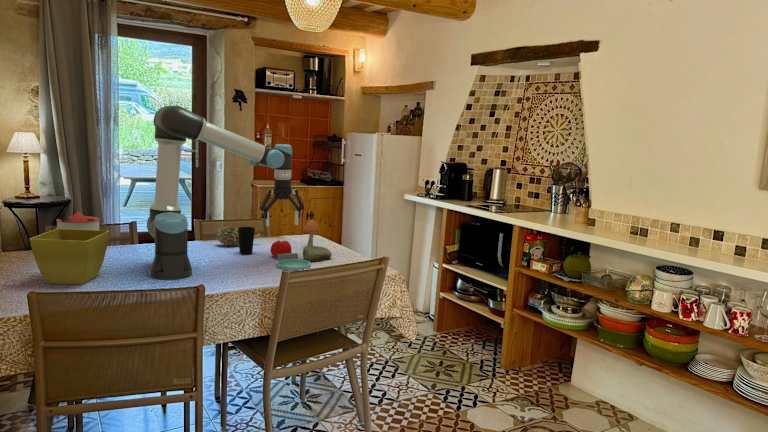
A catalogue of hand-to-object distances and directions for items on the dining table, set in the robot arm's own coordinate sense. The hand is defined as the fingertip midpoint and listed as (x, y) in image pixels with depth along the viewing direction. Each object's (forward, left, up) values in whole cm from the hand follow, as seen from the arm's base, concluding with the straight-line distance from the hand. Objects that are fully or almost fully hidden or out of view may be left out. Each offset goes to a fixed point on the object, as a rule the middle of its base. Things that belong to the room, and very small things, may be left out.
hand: (282, 225), depth 240 cm
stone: (+14, -8, -15) cm, 22 cm away
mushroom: (+20, +13, -15) cm, 28 cm away
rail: (0, -9, -15) cm, 17 cm away
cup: (-13, +11, -15) cm, 23 cm away
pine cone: (-12, +29, -15) cm, 35 cm away
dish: (0, -18, -15) cm, 23 cm away
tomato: (0, 0, -15) cm, 15 cm away
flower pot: (-82, -14, -15) cm, 85 cm away
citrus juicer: (-81, +19, -15) cm, 85 cm away
